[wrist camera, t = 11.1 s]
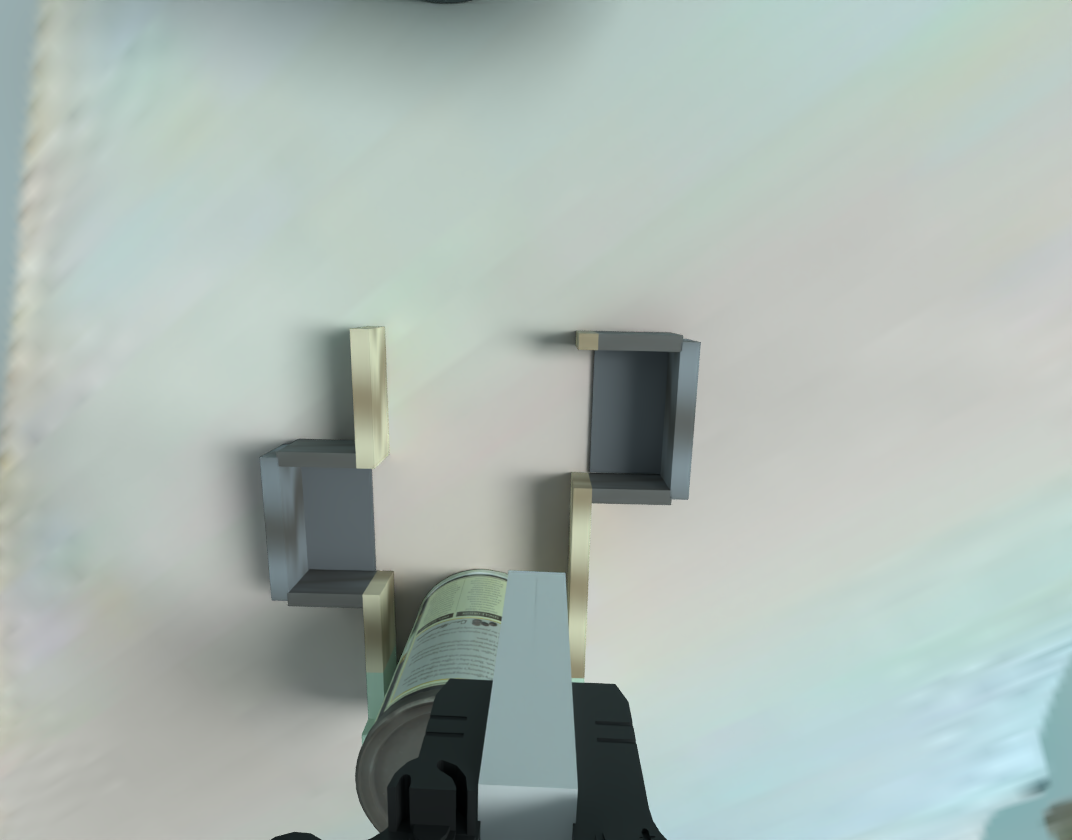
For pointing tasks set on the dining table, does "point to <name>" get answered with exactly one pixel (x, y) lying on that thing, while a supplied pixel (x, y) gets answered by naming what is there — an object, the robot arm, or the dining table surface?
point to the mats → (616, 447)
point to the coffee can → (430, 676)
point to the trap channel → (373, 447)
